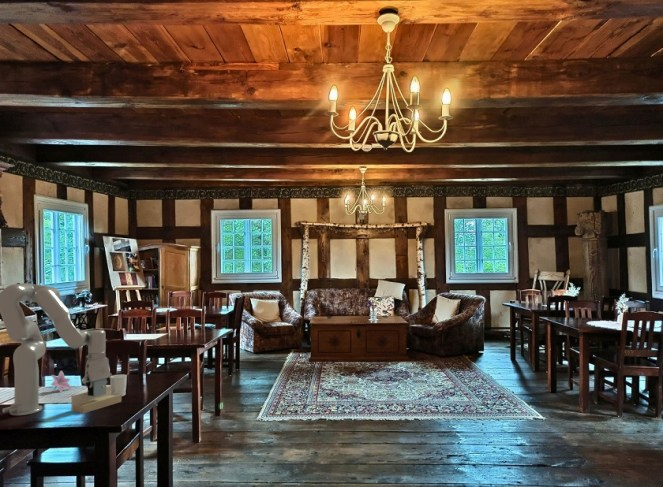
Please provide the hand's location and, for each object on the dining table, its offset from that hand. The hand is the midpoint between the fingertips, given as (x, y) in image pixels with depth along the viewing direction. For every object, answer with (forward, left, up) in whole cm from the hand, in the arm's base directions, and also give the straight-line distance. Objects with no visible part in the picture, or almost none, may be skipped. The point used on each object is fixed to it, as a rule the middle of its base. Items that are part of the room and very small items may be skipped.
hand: (97, 393), depth 225 cm
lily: (+10, +45, -6) cm, 46 cm away
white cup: (+17, +7, -6) cm, 19 cm away
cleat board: (0, 0, -6) cm, 6 cm away
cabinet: (0, 0, -1) cm, 1 cm away
